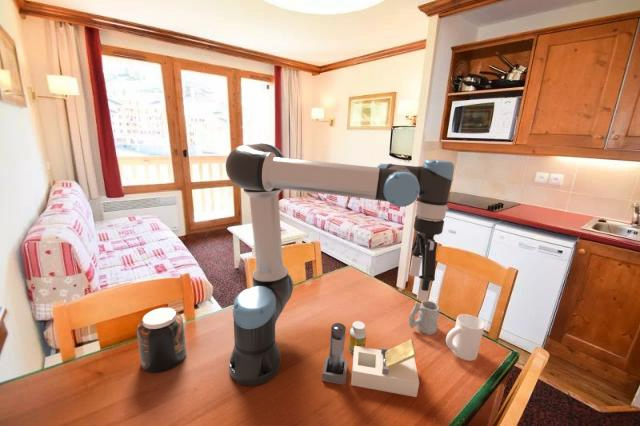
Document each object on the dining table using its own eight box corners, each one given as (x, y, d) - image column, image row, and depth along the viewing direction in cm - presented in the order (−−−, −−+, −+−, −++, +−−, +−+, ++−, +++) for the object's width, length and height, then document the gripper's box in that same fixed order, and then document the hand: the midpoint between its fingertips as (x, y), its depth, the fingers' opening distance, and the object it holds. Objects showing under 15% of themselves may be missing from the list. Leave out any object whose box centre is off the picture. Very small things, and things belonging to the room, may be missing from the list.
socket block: (351, 385, 80) (353, 365, 78) (353, 358, 90) (354, 340, 88) (416, 397, 78) (420, 377, 76) (411, 368, 87) (414, 350, 85)
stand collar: (322, 380, 81) (322, 373, 81) (325, 363, 88) (326, 356, 87) (345, 384, 80) (345, 377, 80) (346, 366, 87) (347, 360, 86)
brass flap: (384, 370, 80) (382, 368, 79) (383, 355, 85) (381, 352, 85) (416, 356, 77) (414, 353, 77) (412, 341, 82) (410, 338, 82)
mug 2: (435, 346, 97) (441, 316, 94) (464, 341, 100) (471, 312, 97) (451, 364, 90) (458, 332, 86) (482, 358, 93) (490, 327, 89)
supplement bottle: (357, 341, 97) (359, 317, 95) (368, 351, 93) (370, 326, 91) (345, 347, 94) (347, 322, 92) (355, 358, 90) (358, 332, 88)
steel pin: (327, 377, 82) (330, 331, 78) (329, 367, 86) (332, 322, 82) (340, 380, 82) (345, 333, 77) (342, 369, 86) (346, 324, 81)
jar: (152, 380, 78) (146, 335, 74) (135, 359, 85) (128, 316, 81) (193, 356, 88) (189, 314, 84) (174, 339, 94) (170, 299, 90)
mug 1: (441, 333, 104) (447, 305, 100) (413, 338, 101) (418, 308, 97) (428, 320, 111) (433, 293, 108) (401, 324, 108) (406, 296, 104)
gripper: (458, 233, 65) (441, 313, 71) (433, 207, 89) (422, 269, 94) (424, 230, 66) (410, 309, 72) (409, 205, 90) (399, 266, 95)
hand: (417, 286), depth 83 cm, fingers open, 13 cm apart
